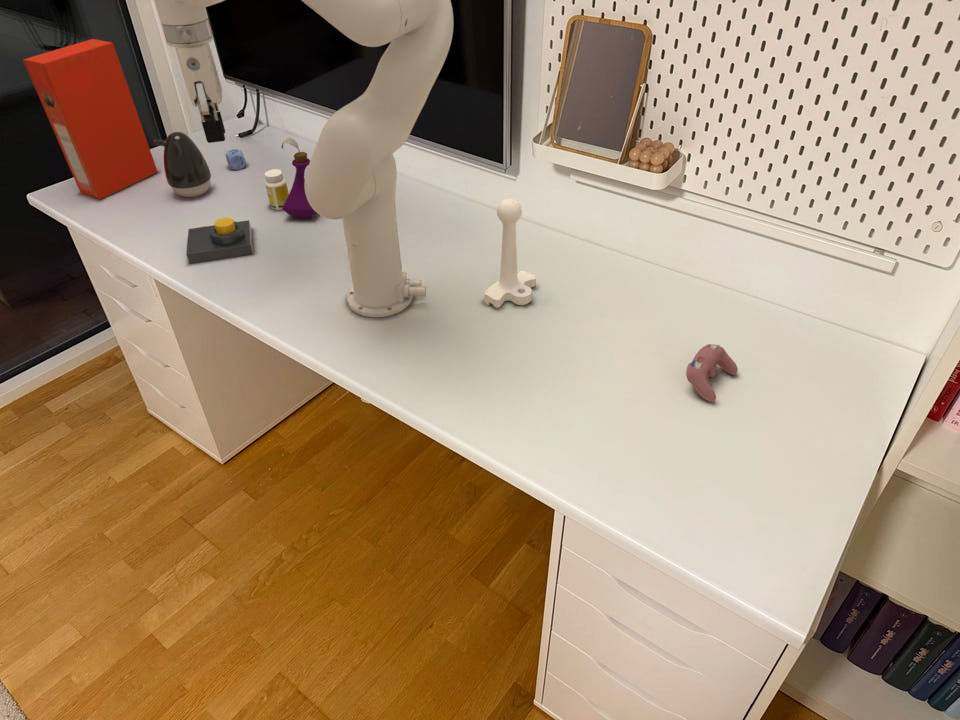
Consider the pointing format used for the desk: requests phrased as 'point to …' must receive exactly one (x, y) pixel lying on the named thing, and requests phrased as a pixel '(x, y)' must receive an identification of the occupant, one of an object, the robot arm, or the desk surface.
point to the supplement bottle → (276, 188)
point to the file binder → (92, 116)
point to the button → (225, 226)
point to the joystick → (510, 262)
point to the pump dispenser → (184, 165)
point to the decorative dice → (235, 159)
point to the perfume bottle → (298, 187)
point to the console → (218, 243)
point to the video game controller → (708, 369)
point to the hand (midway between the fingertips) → (216, 136)
